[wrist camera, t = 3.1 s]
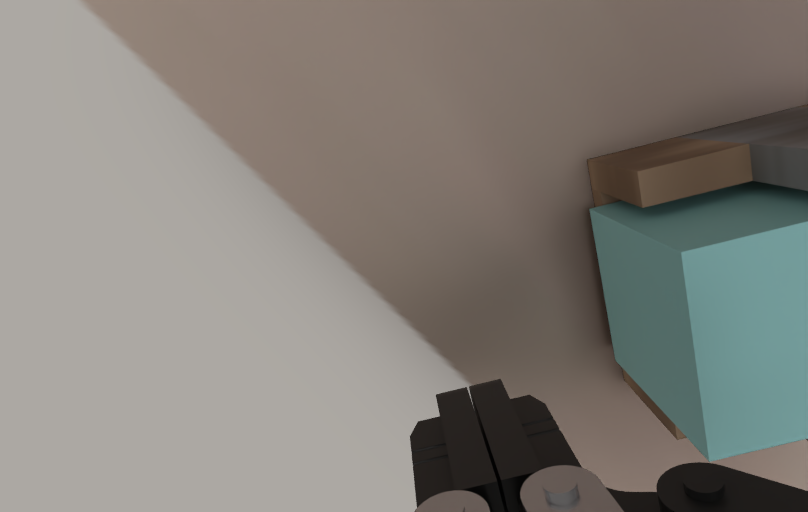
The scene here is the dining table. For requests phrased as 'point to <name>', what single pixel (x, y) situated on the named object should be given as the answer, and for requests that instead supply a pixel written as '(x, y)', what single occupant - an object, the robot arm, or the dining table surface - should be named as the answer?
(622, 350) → the block
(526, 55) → the dining table surface
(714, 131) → the wooden rail tray
